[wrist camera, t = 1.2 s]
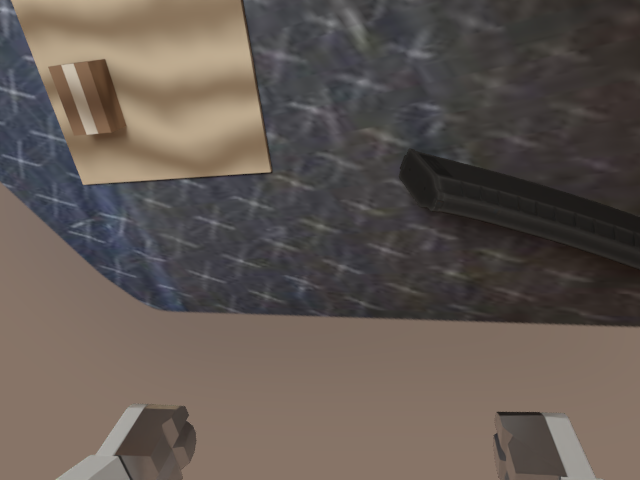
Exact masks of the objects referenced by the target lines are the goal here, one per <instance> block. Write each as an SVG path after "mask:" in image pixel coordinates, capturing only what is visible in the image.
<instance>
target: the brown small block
mask: <svg viewBox="0 0 640 480" xmlns="http://www.w3.org/2000/svg"><path fill="white" fill-rule="evenodd" d="M48 68H49V71H50V74H51V76H52V79H53V81H54V84H55V87H56V89H57V92H58V95H59V97H60V100H61V102H62V105H63V108H64V110H65V113H66V116H67V118H68V121H69V124H70V126H71V129H72V131H73V134H74V136H78V135H89V134H100V133H111V132H113V131H116V130H118V129H121V128H123V127H125V126H126V123H125V119H124V116H123V113H122V110H121V107H120V104H119V101H118V98H117V94H116V91H115V88H114V85H113V82H112V79H111V76H110V73H109V69H108V66H107V63H106V60H105V59H101V60H93V61H85V62H77V63H69V64H62V65H56V66H49V67H48Z"/></svg>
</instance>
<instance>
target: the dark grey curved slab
mask: <svg viewBox="0 0 640 480" xmlns="http://www.w3.org/2000/svg"><path fill="white" fill-rule="evenodd" d="M400 169H401V171H400V174H399V178H400V179H401V181H402V182H403V184H404V185H405V186H406V188H407V189H408V191H409V192H410V194H411V195H412V196H413V198H414V199H415V201H416V202H417V203H418V205H419V206H420V207H424V208H429V210H430V211H432V212H437V211H438V212H443V213H448V214H453V215H457V216H462V217H467V218H471V219H475V220H479V221H483V222H487V223H491V224H495V225H498V226H502V227H505V228H509V229H512V230H516V231H519V232H523V233H527V234H530V235H534V236H537V237H541V238H544V239H547V240H551V241H554V242H558V243H561V244H564V245H567V246H571V247H574V248H577V249H580V250H583V251H586V252H589V253H592V254H595V255H598V256H601V257H604V258H607V259H610V260H613V261H616V262H619V263H621V264H624V265H627V266H630V267H633V268H636V269H638V270H640V217H638V216H635V215H632V214H629V213H626V212H623V211H620V210H617V209H614V208H612V207H609V206H606V205H603V204H600V203H597V202H594V201H591V200H588V199H585V198H581V197H578V196H575V195H572V194H569V193H566V192H562V191H559V190H556V189H553V188H549V187H546V186H543V185H539V184H536V183H533V182H529V181H526V180H522V179H519V178H515V177H512V176H508V175H505V174H501V173H497V172H494V171H490V170H486V169H483V168H479V167H475V166H471V165H467V164H463V163H460V162H456V161H452V160H448V159H444V158H440V157H436V156H432V155H428V154H425V153H421V152H417V151H415V150H414V149H408V152H407V155H405V156H404V159H403V161H402V164H401V167H400Z"/></svg>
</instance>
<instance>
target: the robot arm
mask: <svg viewBox="0 0 640 480" xmlns="http://www.w3.org/2000/svg"><path fill="white" fill-rule="evenodd" d="M188 416H189V414H188V412H187V409H186V407H185V406H174V405H154V404H132V405H131V406H129V407H128V408H127V409H126V411H125V412H124V414H123V415H122V417H121V418H120V419H119V421H118V422H117V424H116V425H115V427H114V428H113V430H112V431H111V433H110V434H109V436H108V437H107V439H106V440H105V442H104V443H103V445H102V446H101V448H100V449H99V450H98V452H97V453H96V455H90V456H88V457H87V458H85V459H84V460H83V461H81V462H80V463H79V464H77V465H76V466H74V467H73V468H71V469H70V470H69V471H67V472H66V473H64V474H63V475H61V476H60V477H59V478H57V479H56V480H182V479H183V476H182V472H181V470H182V469H183V468H184V467H185V466H186V465H188V464H189V463H190V461H191V459H192V457H193V454H194V451H195V445H196V432H195V430H194V427H193V426H192V425H191V424H190V423H189V422H187V421H186V420H187V418H188ZM495 426H496V430H497V433H496V434H495V435H494V444H493V446H494V459H495V464H496V469H497V474H498V478H500V480H604V479H596V477H595V474H594V472H593V470H592V468H591V466H590V463H589V461H588V459H587V457H586V455H585V453H584V450H583V448H582V446H581V444H580V442H579V439H578V437H577V435H576V433H575V431H574V429H573V426H572V424H571V422H570V420H569V418H568V416H567V415H566V414H565V413H540V412H497V413H496V415H495Z"/></svg>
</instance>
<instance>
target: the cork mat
mask: <svg viewBox="0 0 640 480" xmlns="http://www.w3.org/2000/svg"><path fill="white" fill-rule="evenodd" d="M11 1H12V4H13V6H14V9H15V11H16V14H17V16H18V19H19V22H20V24H21V27H22V29H23V32H24V34H25V37H26V39H27V42H28V45H29V47H30V50H31V52H32V55H33V57H34V60H35V63H36V65H37V68H38V70H39V73H40V75H41V78H42V80H43V83H44V86H45V88H46V91H47V93H48V96H49V98H50V101H51V103H52V106H53V109H54V111H55V114H56V116H57V119H58V121H59V124H60V127H61V129H62V132H63V134H64V137H65V139H66V142H67V144H68V147H69V150H70V152H71V155H72V157H73V160H74V162H75V165H76V168H77V170H78V173H79V175H80V178H81V180H82V183H83V185H87V184H102V183H116V182H131V181H146V180H161V179H176V178H191V177H206V176H221V175H235V174H250V173H265V172H271V171H272V167H271V161H270V155H269V149H268V144H267V138H266V132H265V126H264V121H263V115H262V109H261V103H260V98H259V92H258V86H257V80H256V75H255V69H254V63H253V57H252V52H251V46H250V40H249V34H248V29H247V23H246V17H245V11H244V6H243V0H11ZM101 59H105V60H106V63H107V66H108V69H109V73H110V76H111V79H112V82H113V85H114V88H115V91H116V94H117V98H118V101H119V104H120V107H121V110H122V113H123V116H124V119H125V123H126V126H125V127H123V128H121V129H118V130H116V131H113V132H111V133H100V134H89V135H78V136H74V134H73V131H72V129H71V126H70V124H69V121H68V118H67V116H66V113H65V110H64V108H63V105H62V102H61V100H60V97H59V95H58V92H57V89H56V87H55V84H54V81H53V79H52V76H51V74H50V71H49V68H48V67H49V66H56V65H62V64H69V63H77V62H85V61H93V60H101Z"/></svg>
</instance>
